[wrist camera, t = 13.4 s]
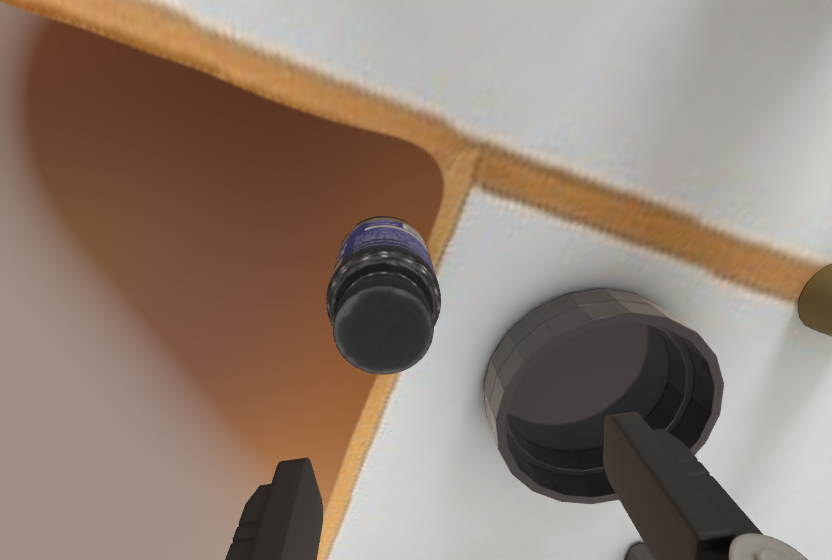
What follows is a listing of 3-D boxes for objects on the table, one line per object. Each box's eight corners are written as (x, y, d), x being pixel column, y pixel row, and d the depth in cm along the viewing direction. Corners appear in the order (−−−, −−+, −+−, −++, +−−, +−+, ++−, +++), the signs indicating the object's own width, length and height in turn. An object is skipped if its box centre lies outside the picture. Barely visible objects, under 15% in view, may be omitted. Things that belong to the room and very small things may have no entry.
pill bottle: (331, 222, 29) (300, 282, 19) (421, 206, 29) (439, 257, 19) (351, 304, 31) (333, 398, 21) (434, 290, 31) (457, 376, 21)
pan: (473, 306, 32) (486, 336, 28) (689, 271, 32) (736, 295, 28) (492, 472, 38) (505, 518, 34) (674, 443, 38) (711, 485, 34)
